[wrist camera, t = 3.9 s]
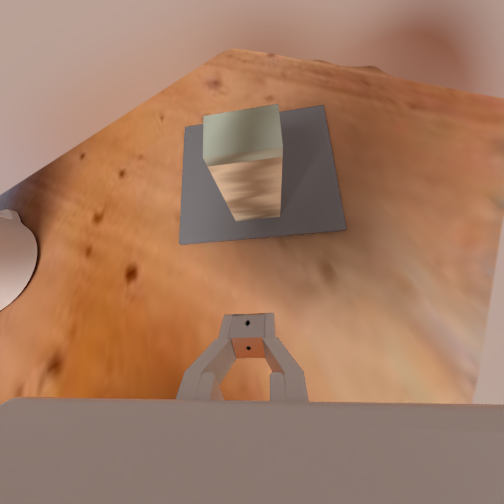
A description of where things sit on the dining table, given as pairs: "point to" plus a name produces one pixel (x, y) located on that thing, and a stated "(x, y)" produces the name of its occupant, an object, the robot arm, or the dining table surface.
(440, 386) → the dining table surface
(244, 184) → the birch block
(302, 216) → the rubber mat
